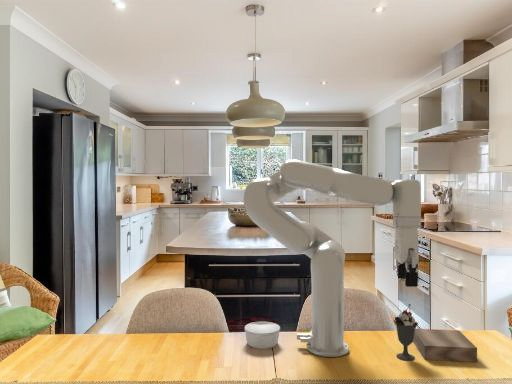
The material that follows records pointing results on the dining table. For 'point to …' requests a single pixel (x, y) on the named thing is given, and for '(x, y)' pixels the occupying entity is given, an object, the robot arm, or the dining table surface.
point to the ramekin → (262, 334)
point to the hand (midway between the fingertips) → (407, 282)
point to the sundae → (405, 333)
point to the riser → (444, 345)
